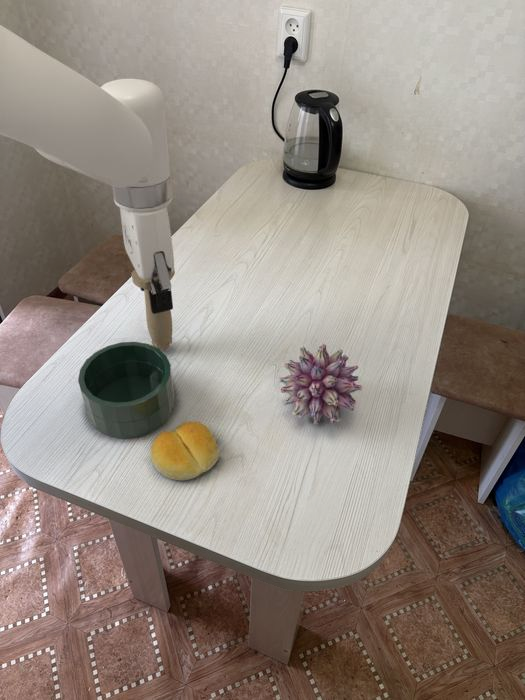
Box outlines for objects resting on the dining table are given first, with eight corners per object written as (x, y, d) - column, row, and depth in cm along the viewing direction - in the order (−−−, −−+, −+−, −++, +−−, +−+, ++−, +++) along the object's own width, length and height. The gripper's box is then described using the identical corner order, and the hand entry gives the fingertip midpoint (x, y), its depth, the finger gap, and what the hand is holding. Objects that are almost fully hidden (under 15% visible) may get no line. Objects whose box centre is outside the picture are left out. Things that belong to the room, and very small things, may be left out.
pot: (98, 450, 70) (89, 418, 65) (80, 387, 78) (70, 355, 73) (185, 421, 74) (182, 389, 69) (160, 365, 82) (155, 332, 77)
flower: (362, 419, 77) (317, 456, 69) (302, 377, 83) (254, 406, 75) (389, 361, 71) (343, 395, 63) (322, 319, 76) (272, 344, 68)
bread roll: (143, 448, 70) (139, 430, 67) (201, 423, 74) (200, 405, 71) (166, 494, 65) (163, 477, 62) (228, 465, 69) (228, 448, 66)
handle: (138, 347, 84) (124, 272, 73) (168, 329, 87) (159, 255, 77) (156, 361, 81) (145, 286, 71) (186, 342, 85) (180, 268, 75)
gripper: (98, 165, 69) (118, 274, 82) (130, 225, 58) (148, 340, 71) (151, 157, 72) (163, 264, 84) (192, 213, 61) (198, 326, 73)
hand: (156, 298), depth 77 cm, fingers closed on handle, 5 cm apart
